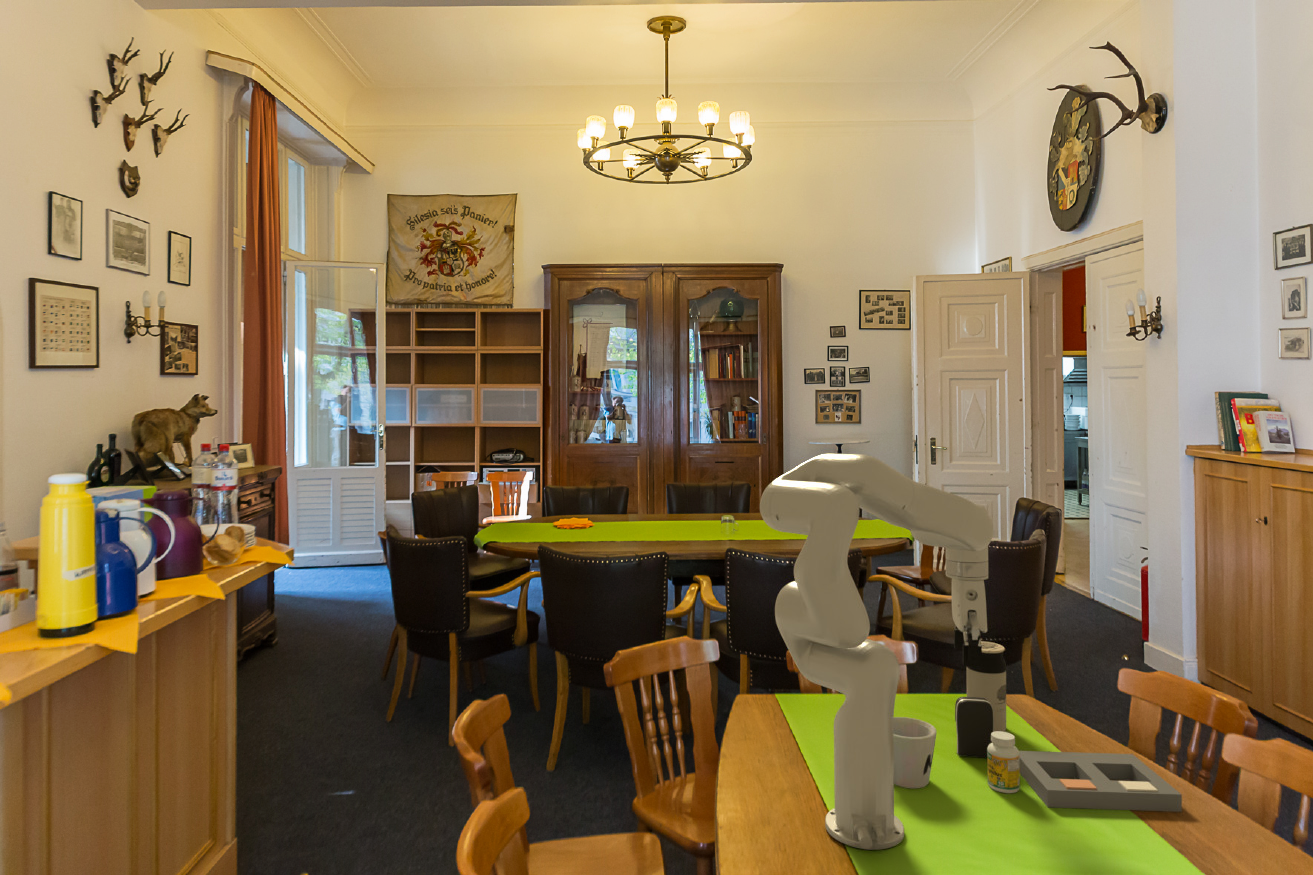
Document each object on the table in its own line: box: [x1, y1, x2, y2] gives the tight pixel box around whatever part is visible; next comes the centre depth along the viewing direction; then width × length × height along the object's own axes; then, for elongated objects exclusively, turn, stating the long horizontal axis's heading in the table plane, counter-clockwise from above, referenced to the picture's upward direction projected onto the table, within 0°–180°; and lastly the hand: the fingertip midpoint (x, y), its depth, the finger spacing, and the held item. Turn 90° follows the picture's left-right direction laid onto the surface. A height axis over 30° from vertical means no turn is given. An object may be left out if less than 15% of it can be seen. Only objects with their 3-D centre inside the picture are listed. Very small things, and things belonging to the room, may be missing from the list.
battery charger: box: [954, 696, 993, 759], centre depth 154 cm, size 7×4×11 cm, turn 79°
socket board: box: [1018, 750, 1183, 813], centre depth 139 cm, size 16×22×3 cm
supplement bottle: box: [987, 731, 1021, 794], centre depth 140 cm, size 5×5×10 cm
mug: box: [893, 716, 937, 789], centre depth 144 cm, size 10×15×10 cm
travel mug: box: [966, 641, 1007, 732], centre depth 167 cm, size 8×8×18 cm
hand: (967, 658), depth 145 cm, fingers open, 9 cm apart
